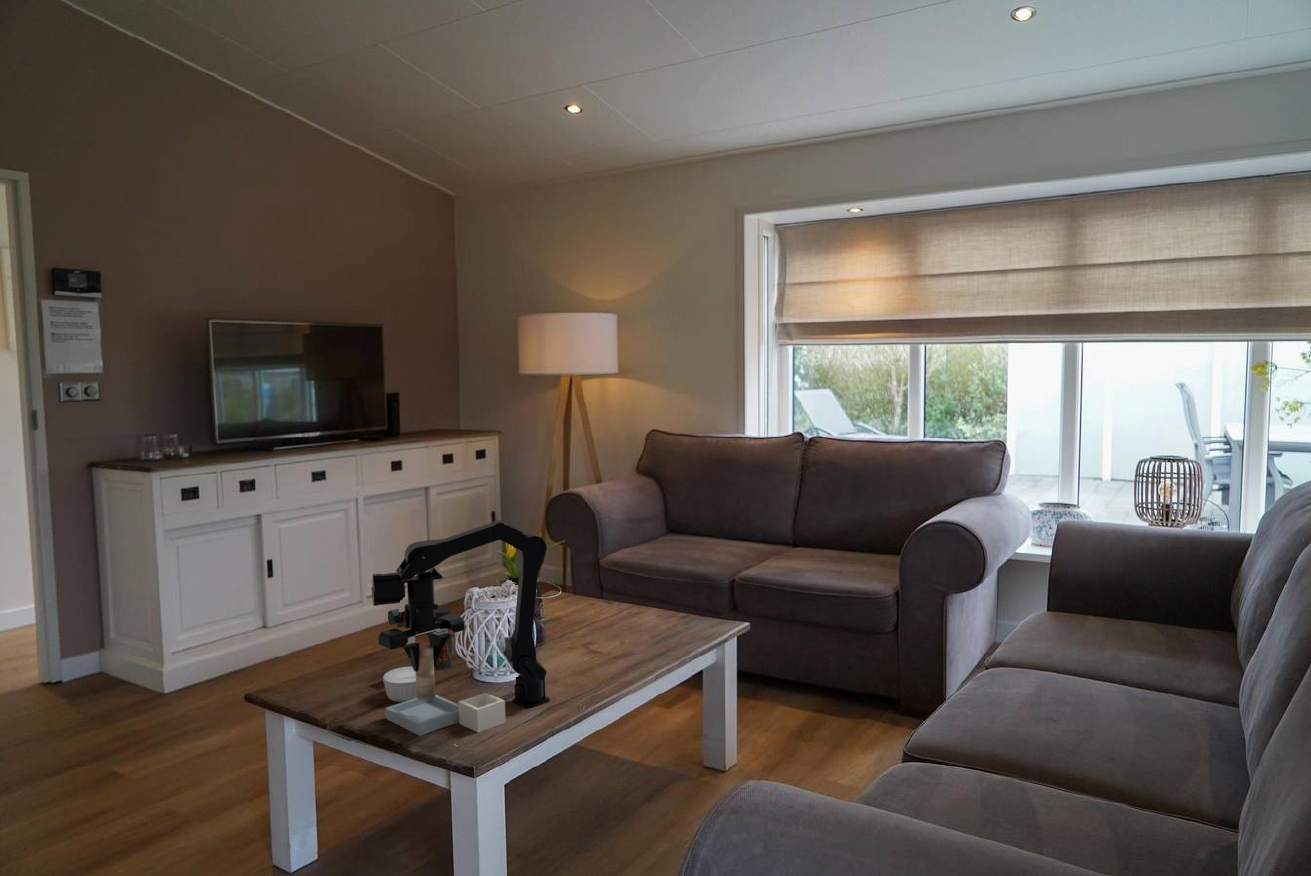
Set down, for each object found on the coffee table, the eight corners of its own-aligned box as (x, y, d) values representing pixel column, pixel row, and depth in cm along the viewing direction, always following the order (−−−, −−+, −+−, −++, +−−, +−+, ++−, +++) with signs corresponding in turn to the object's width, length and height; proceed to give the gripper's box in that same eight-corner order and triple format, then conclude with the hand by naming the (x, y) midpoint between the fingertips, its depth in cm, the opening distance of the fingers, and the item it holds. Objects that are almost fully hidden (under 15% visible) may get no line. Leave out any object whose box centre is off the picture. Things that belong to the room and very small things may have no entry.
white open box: (486, 714, 202) (485, 692, 202) (505, 722, 197) (504, 700, 197) (459, 723, 197) (458, 701, 197) (478, 732, 192) (477, 710, 192)
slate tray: (432, 703, 210) (432, 693, 209) (467, 719, 200) (466, 708, 200) (386, 718, 201) (385, 708, 201) (419, 735, 191) (418, 724, 191)
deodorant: (425, 666, 236) (423, 610, 235) (445, 660, 240) (443, 605, 239) (437, 671, 232) (435, 614, 231) (457, 665, 236) (455, 609, 235)
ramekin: (405, 707, 208) (404, 685, 207) (373, 698, 214) (372, 676, 214) (441, 692, 217) (440, 671, 217) (410, 683, 223) (409, 663, 223)
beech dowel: (429, 692, 203) (426, 645, 202) (438, 696, 200) (436, 648, 199) (413, 697, 200) (411, 649, 199) (422, 702, 197) (420, 653, 196)
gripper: (438, 586, 210) (441, 650, 212) (364, 602, 197) (367, 671, 198) (465, 593, 203) (468, 661, 204) (390, 611, 189) (393, 683, 191)
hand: (424, 668), depth 199 cm, fingers closed on beech dowel, 4 cm apart
